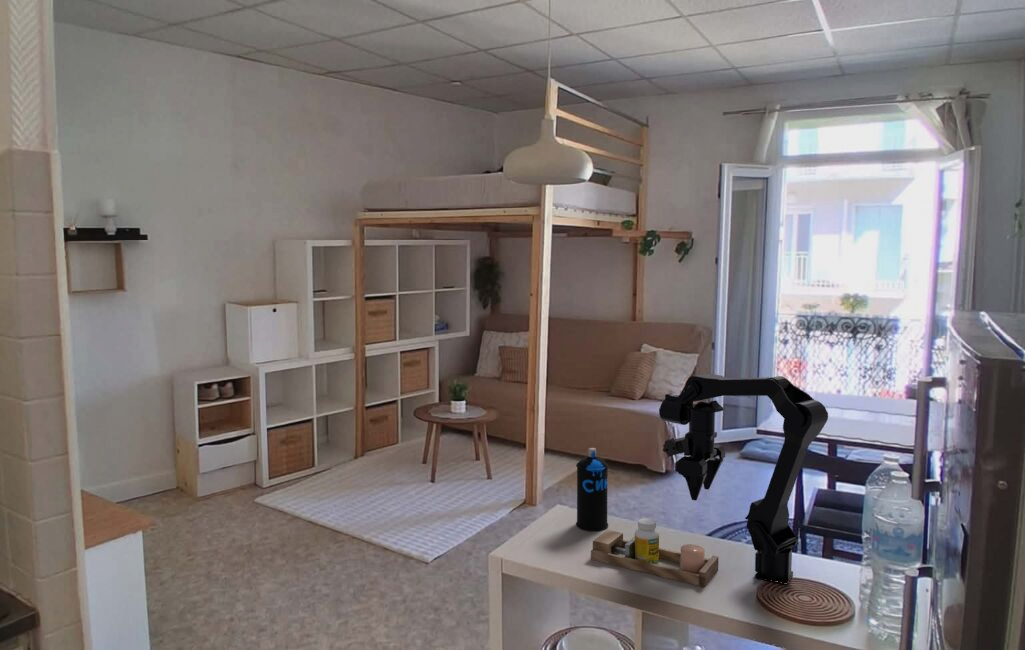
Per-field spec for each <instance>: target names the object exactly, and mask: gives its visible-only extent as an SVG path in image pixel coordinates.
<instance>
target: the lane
mask: <svg viewBox="0 0 1025 650" xmlns="http://www.w3.org/2000/svg"><path fill="white" fill-rule="evenodd" d="M629 541H630V540H626V539H624V532H619V531H615V530H610V529H605V531H604V532H602V533H600V534H599V535H598V536H597V537H595V538H594V539H593V540H592V549H591V550H590V560H594V561H596V562H601V563H605V564H608V565H614V566H617V567H622V568H626V569H630V570H634V571H638V572H642V573H646V574H651V575H654V576H659V577H662V578H666V579H670V580H675V581H678V582H679V581H680V582H682V583H683V582H684V583H688V584H689V585H695V586H698V587H699V586H700V587H703V588H705V587H706V586H707V585H708V583H709V582H710V581H711V579H712V578H713V577H714V576H715V574H717V572H718V571H719V556H717V555H712V556H711V557H710V558H706V557H705V561H704V566H703V568H702V569H701V570H700V571H699V574H695V573H690V572H686V571H682V570H680V569H677V568H673V567H670V566H664V565H661V564H660V565H659V564H658V565H657V564H652V563H648V562H644V561H640V560H636V559H631V558H627V557H625V556H624V555H620V554H615V553H612V552H611V546H615V547H619V548H623V549H625V544H626V543H627V542H629ZM680 557H681V551H675V550H670V549H666V548H661V547H659V559H662V560H667V561H671V562H675V563H679V564H680Z"/></svg>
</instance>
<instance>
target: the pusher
mask: <svg viewBox="0 0 1025 650" xmlns="http://www.w3.org/2000/svg"><path fill="white" fill-rule="evenodd" d="M628 541H629V542H627V543H626V544H625V549H623V548H619V547H615V546H611V554H616V555H620V556H624V557H627V558H631V559H635V536H633V537H632V538H630V540H628Z"/></svg>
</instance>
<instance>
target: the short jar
mask: <svg viewBox="0 0 1025 650" xmlns="http://www.w3.org/2000/svg"><path fill="white" fill-rule="evenodd" d="M680 553H681V557H680V563H679V565H680V567H679V570H682V571H686V572H690V573H695V574H699V571H700V570H701V569H702V568H703V566H704V561H705V558H706V557H705V555H706V554H705V553H706V552H705V548H704V547H703V546H700V545H697V544H683V545H682V546H680Z"/></svg>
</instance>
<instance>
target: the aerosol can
mask: <svg viewBox="0 0 1025 650" xmlns="http://www.w3.org/2000/svg"><path fill="white" fill-rule="evenodd" d="M575 465H576V469H577V470H576V523H575V525H576V528H578V529H580V530H582V531H587V532H600V531H604V530H607V529H608V527H609V524H608V472H609V471H608V468H609V467H610V465H609V464H608V463H607V462H606V461H605V460H604V459H603V458H601V457H600V456H599V457H598V456H597V449H596V447H589V448H588V455H587V456H585V457H583V458H581V459H580V460H579V461H578V462H577V463H576V464H575Z"/></svg>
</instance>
